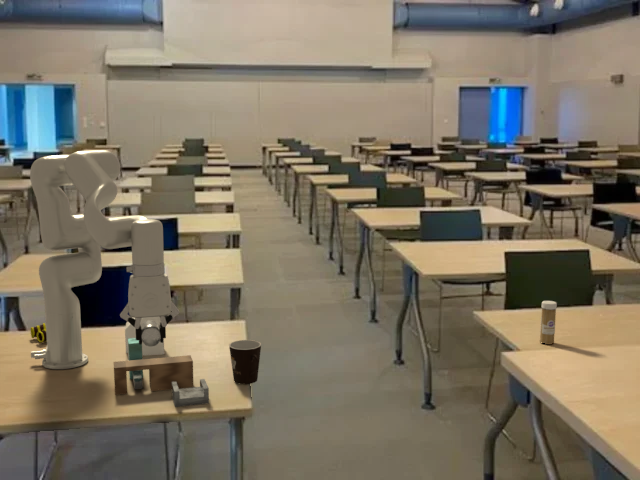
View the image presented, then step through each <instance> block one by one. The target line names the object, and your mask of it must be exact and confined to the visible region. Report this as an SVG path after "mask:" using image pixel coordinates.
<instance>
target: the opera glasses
mask: <svg viewBox="0 0 640 480" xmlns="http://www.w3.org/2000/svg"><path fill="white" fill-rule="evenodd" d="M30 336H31V339H34V338H35V339H37V341H38V342H39V343H43V342H46V343H47V336H46V322H43V323H42V324H38V325H35V326H34V327H33V326H32V327H30Z"/></svg>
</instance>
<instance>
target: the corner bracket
mask: <svg viewBox="0 0 640 480" xmlns="http://www.w3.org/2000/svg"><path fill="white" fill-rule="evenodd" d="M132 318H134V317H132ZM134 319H135V318H134ZM149 320H151V321H154V322H156V323H157V325H158V327H159V325H160V322H161V320H160V317H145V318H141V322H140V325H142V324H143V323H144V322H145V321H149ZM124 328H125V329H124V335H125V340H124V342H125V354H128V339H129V338H136V329H135V327H134V326H132V325H131V324H130V323H129V322H128V321H126V323H125V327H124ZM156 355H157V356H159V355H165V338H163V343H161V342H159V343H158V344H157V345H155V346H152V347H149V346H146V345H145V344H144V343H143V341H142V357H143V356H144V357H145V356H156Z"/></svg>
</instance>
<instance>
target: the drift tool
mask: <svg viewBox="0 0 640 480" xmlns="http://www.w3.org/2000/svg"><path fill="white" fill-rule="evenodd" d="M127 355H128V361H130V360H141V359H143V356H142V344H139V340H136V338H129V339H128V353H127ZM143 371H144V370H137V371H128V374H129V375H128V376H129V380H133V381H132V382H133V387H134V390H140V389H144V387H143V385H144V384H143V379H144V372H143Z"/></svg>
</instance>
